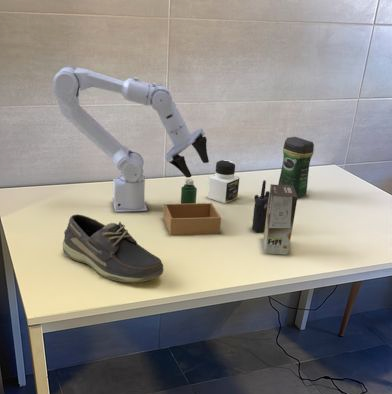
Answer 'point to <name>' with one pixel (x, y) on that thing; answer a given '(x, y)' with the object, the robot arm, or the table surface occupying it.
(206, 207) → the box
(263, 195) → the two-way radio
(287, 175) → the coffee jar
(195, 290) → the table surface
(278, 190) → the coffee box
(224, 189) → the medicine bottle
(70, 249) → the boat shoe
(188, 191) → the bottle
